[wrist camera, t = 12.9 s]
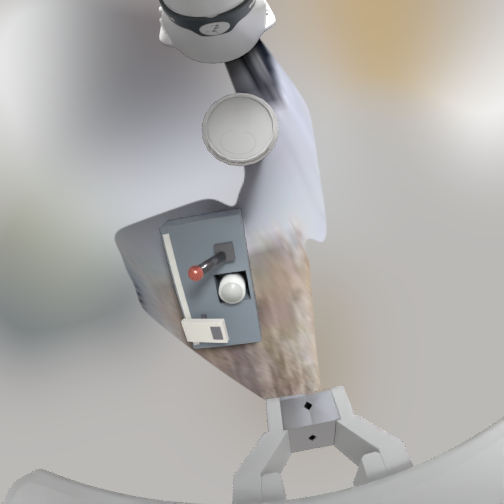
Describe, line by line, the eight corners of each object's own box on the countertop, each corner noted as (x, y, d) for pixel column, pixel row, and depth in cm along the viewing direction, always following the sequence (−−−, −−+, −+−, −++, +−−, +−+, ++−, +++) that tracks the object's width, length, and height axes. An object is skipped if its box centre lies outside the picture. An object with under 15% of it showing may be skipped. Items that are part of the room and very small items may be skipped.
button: (218, 272, 45) (216, 282, 41) (243, 268, 45) (242, 278, 41) (223, 294, 46) (221, 305, 43) (247, 291, 46) (247, 302, 42)
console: (167, 220, 45) (157, 230, 39) (240, 207, 45) (239, 215, 39) (197, 332, 52) (193, 352, 46) (260, 325, 52) (261, 344, 46)
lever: (217, 247, 40) (182, 268, 34) (228, 247, 39) (194, 269, 33) (220, 260, 41) (186, 283, 35) (231, 261, 40) (198, 284, 34)
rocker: (183, 318, 44) (180, 322, 43) (223, 318, 43) (221, 322, 42) (189, 338, 46) (187, 342, 45) (229, 339, 44) (227, 343, 43)
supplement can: (265, 165, 42) (275, 170, 28) (212, 160, 42) (195, 162, 28) (271, 115, 40) (284, 95, 26) (218, 109, 39) (204, 87, 25)
